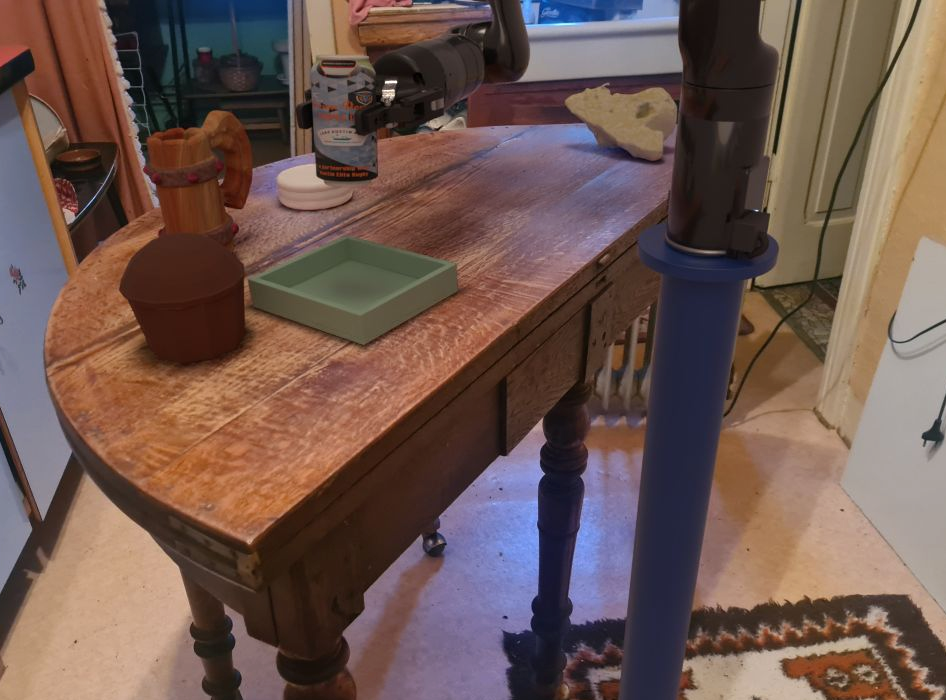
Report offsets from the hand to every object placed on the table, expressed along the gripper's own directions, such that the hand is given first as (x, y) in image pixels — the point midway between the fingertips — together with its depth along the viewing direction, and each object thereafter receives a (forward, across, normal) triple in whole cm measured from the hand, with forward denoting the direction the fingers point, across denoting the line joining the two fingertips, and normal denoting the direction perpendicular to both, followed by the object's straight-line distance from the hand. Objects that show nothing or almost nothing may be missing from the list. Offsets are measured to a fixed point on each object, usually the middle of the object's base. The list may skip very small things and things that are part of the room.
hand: (329, 121), depth 79 cm
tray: (0, +1, +18) cm, 18 cm away
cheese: (-60, +8, +18) cm, 64 cm away
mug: (-4, -22, +18) cm, 28 cm away
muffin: (+15, -8, +18) cm, 24 cm away
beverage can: (-2, 0, +7) cm, 7 cm away
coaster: (-25, -22, +18) cm, 38 cm away
